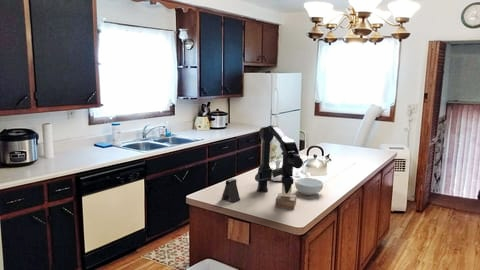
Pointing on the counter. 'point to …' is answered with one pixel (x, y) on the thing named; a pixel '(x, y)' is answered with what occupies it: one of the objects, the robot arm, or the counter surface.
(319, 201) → the counter surface
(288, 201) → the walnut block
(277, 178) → the flower in vase
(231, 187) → the dark grey tapered block
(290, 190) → the maple cube
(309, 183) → the cereal bowl
